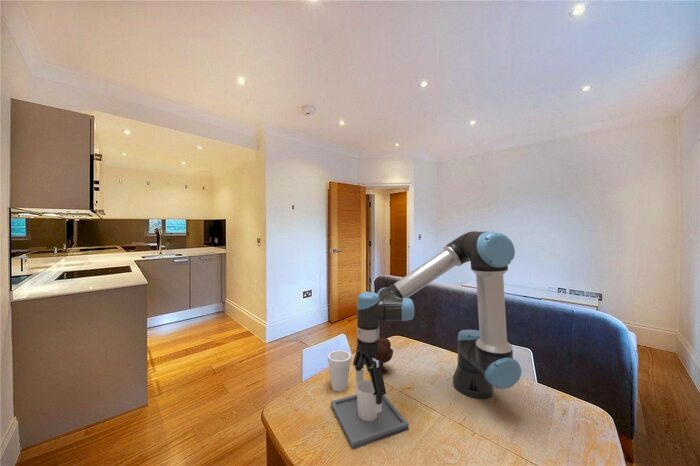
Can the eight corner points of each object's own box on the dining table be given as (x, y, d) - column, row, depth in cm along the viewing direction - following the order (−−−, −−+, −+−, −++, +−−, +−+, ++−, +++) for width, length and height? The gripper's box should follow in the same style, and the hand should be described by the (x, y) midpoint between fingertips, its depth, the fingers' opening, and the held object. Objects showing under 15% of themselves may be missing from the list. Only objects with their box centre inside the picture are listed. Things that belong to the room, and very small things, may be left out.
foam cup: (323, 390, 105) (324, 358, 105) (333, 378, 113) (333, 348, 113) (345, 396, 101) (345, 363, 101) (354, 383, 110) (354, 352, 110)
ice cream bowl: (376, 362, 127) (376, 331, 127) (397, 369, 121) (397, 337, 120) (364, 371, 119) (365, 339, 118) (386, 380, 112) (386, 346, 112)
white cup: (378, 425, 85) (378, 394, 85) (354, 421, 87) (354, 391, 87) (380, 408, 93) (380, 381, 93) (358, 405, 95) (358, 378, 94)
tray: (378, 393, 103) (378, 388, 103) (408, 429, 85) (408, 423, 85) (330, 406, 95) (330, 401, 95) (352, 449, 77) (352, 442, 77)
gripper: (344, 327, 100) (344, 381, 100) (375, 357, 77) (375, 427, 77) (362, 324, 102) (362, 377, 103) (397, 352, 79) (397, 420, 80)
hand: (367, 399), depth 90 cm, fingers open, 13 cm apart
